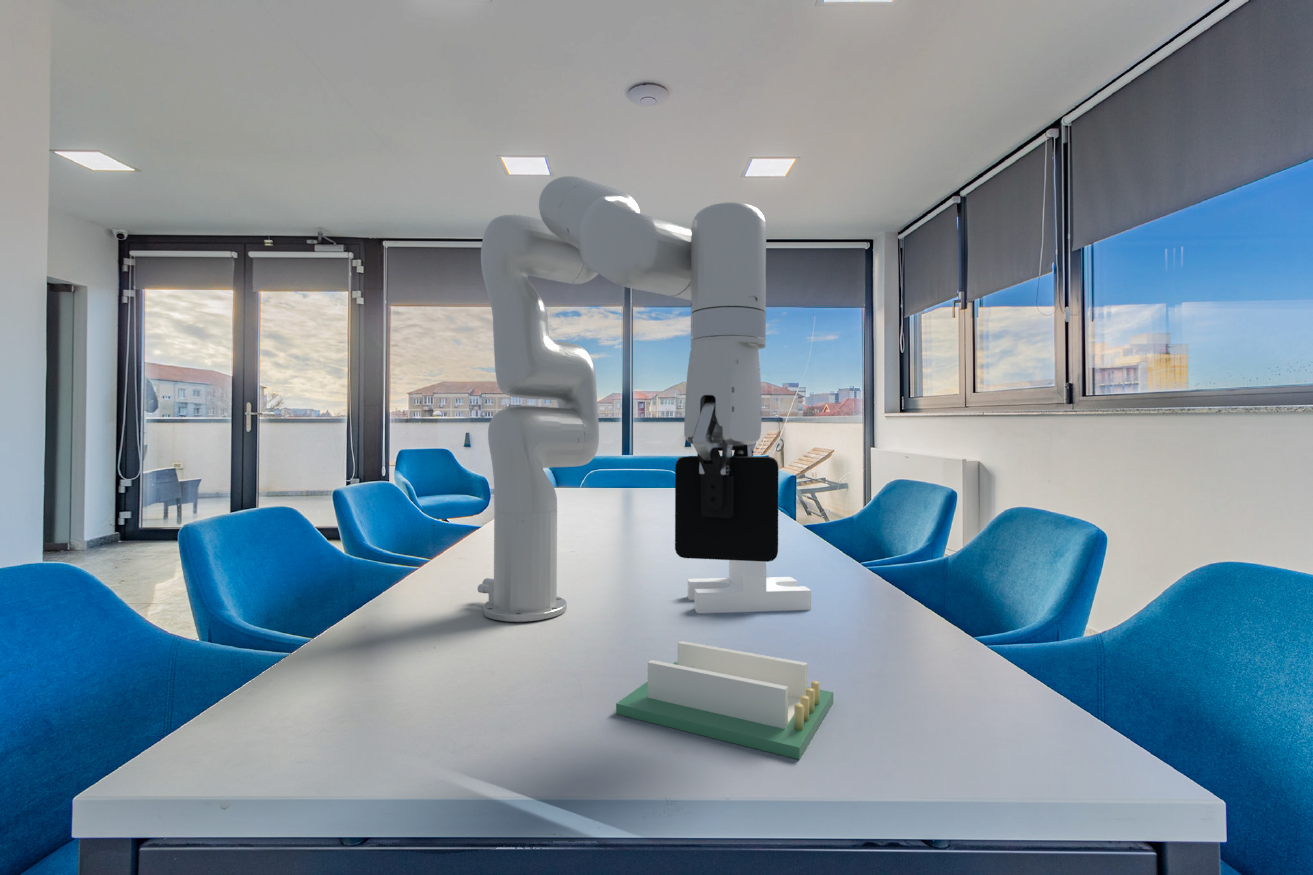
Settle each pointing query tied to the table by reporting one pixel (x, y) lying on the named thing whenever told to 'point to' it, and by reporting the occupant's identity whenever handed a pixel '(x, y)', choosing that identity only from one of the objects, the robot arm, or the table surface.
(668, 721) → the board
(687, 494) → the electronic device
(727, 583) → the white bracket
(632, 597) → the table surface
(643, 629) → the table surface
